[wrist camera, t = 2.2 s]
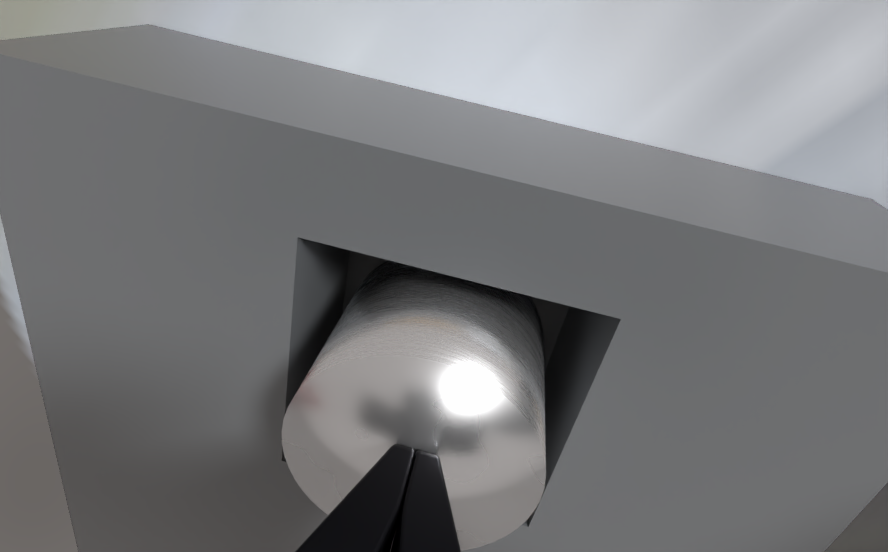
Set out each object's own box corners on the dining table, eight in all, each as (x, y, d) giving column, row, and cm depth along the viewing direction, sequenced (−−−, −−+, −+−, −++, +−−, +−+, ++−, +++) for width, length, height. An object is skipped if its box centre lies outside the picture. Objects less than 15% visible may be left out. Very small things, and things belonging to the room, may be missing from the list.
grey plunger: (570, 278, 12) (583, 401, 8) (514, 432, 14) (506, 576, 11) (360, 225, 12) (289, 324, 9) (338, 386, 14) (275, 514, 11)
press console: (872, 199, 13) (1044, 311, 8) (591, 636, 23) (603, 791, 18) (148, 24, 13) (-39, 44, 9) (182, 524, 23) (100, 648, 19)
